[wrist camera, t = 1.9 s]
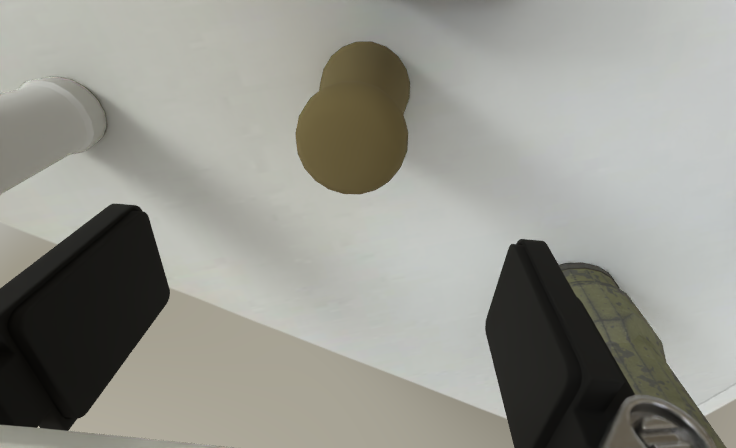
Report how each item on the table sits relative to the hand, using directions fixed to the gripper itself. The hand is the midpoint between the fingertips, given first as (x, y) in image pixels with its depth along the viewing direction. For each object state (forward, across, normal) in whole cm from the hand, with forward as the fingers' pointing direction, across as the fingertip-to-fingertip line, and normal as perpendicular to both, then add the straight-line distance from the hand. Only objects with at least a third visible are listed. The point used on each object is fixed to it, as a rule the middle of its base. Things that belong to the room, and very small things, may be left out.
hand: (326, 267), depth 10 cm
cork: (+19, 0, 0) cm, 19 cm away
